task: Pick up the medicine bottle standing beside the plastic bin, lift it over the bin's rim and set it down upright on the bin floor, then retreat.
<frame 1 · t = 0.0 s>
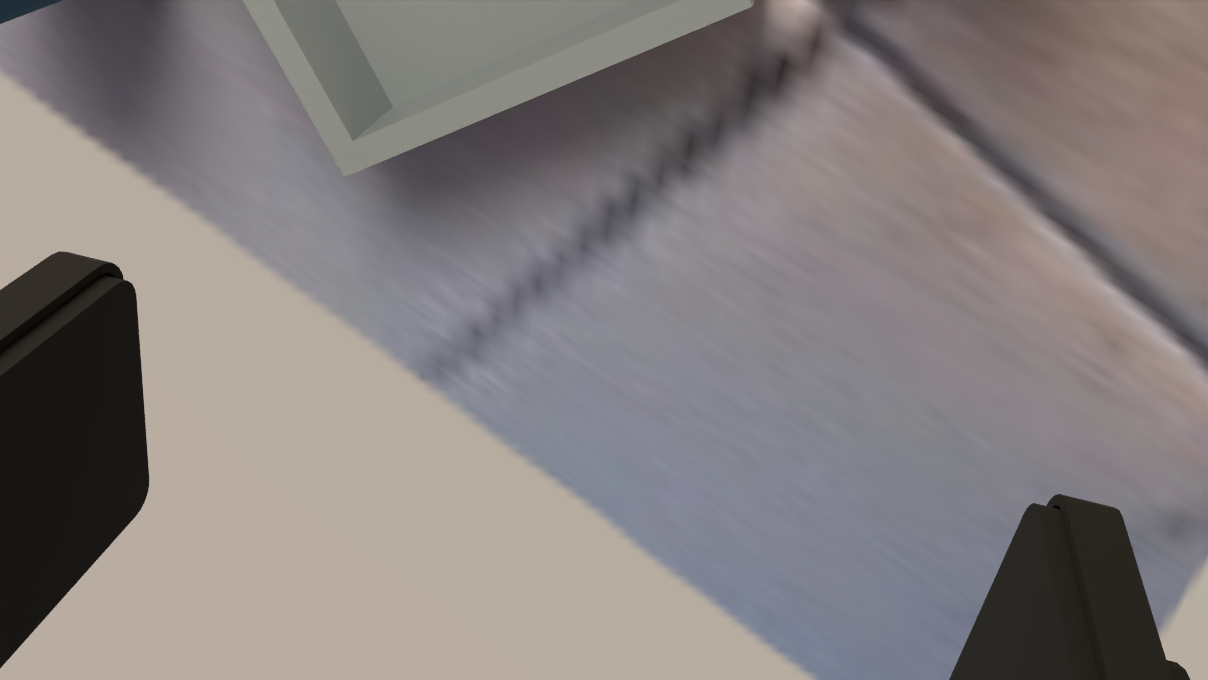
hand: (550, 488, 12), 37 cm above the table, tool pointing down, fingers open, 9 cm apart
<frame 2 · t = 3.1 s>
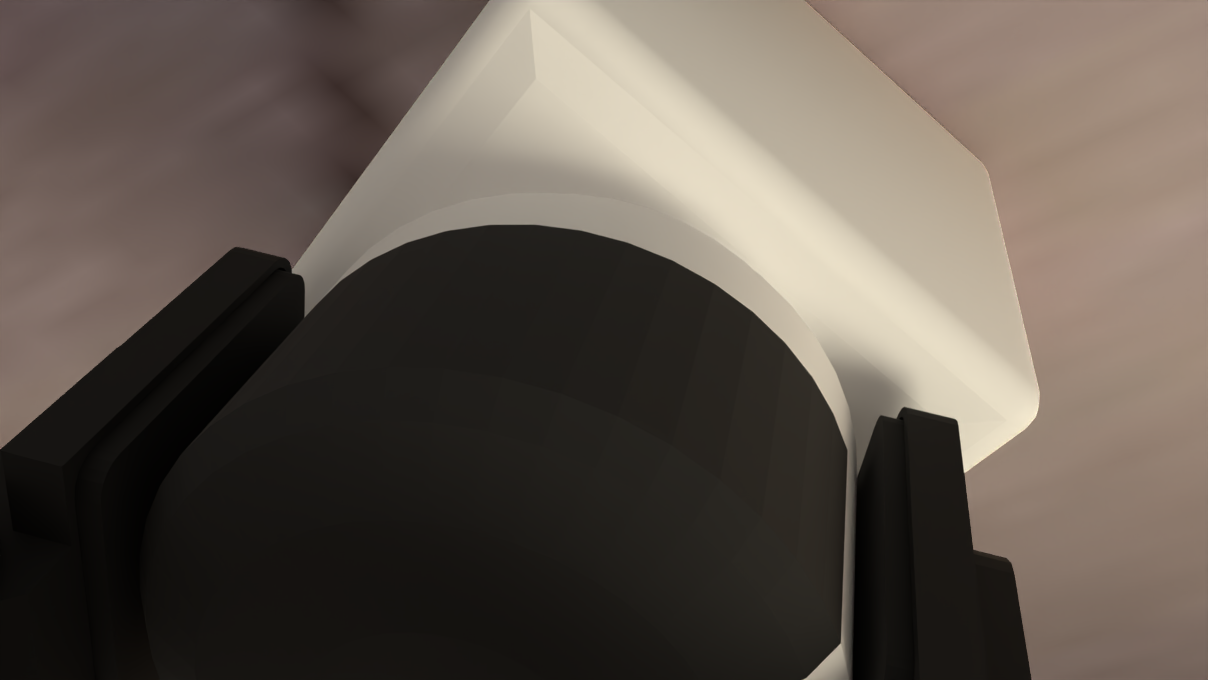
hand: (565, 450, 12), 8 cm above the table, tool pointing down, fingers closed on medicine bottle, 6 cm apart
medicine bottle: (680, 174, 19), on the table, touching gripper
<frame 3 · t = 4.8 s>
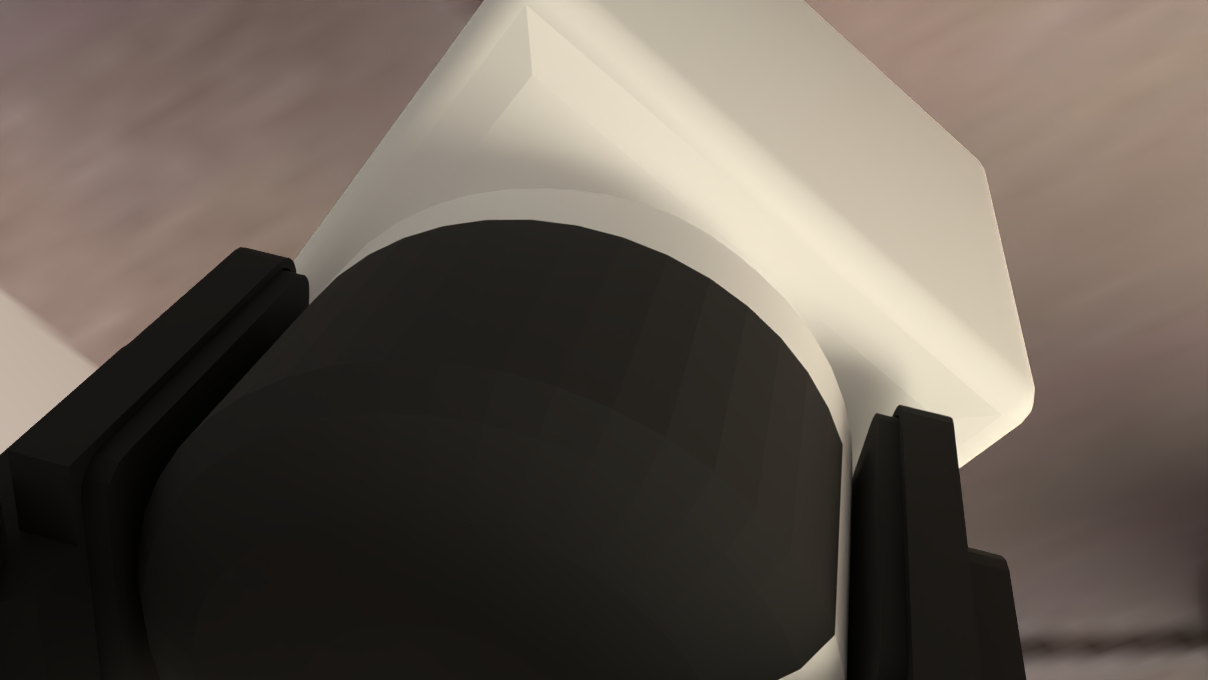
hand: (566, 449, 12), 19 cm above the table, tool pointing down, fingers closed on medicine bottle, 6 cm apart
medicine bottle: (677, 172, 19), point 11 cm above the table, touching gripper
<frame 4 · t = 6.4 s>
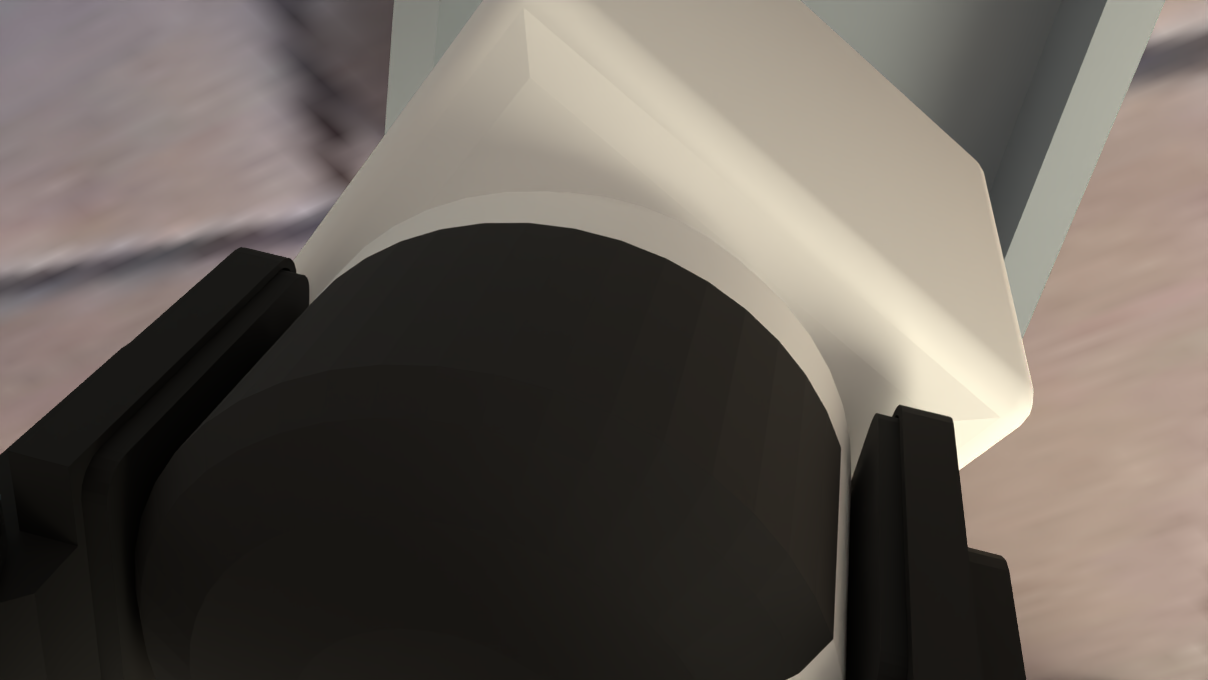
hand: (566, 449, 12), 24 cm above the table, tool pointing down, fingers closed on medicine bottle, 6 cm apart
medicine bottle: (676, 174, 19), point 16 cm above the table, touching gripper
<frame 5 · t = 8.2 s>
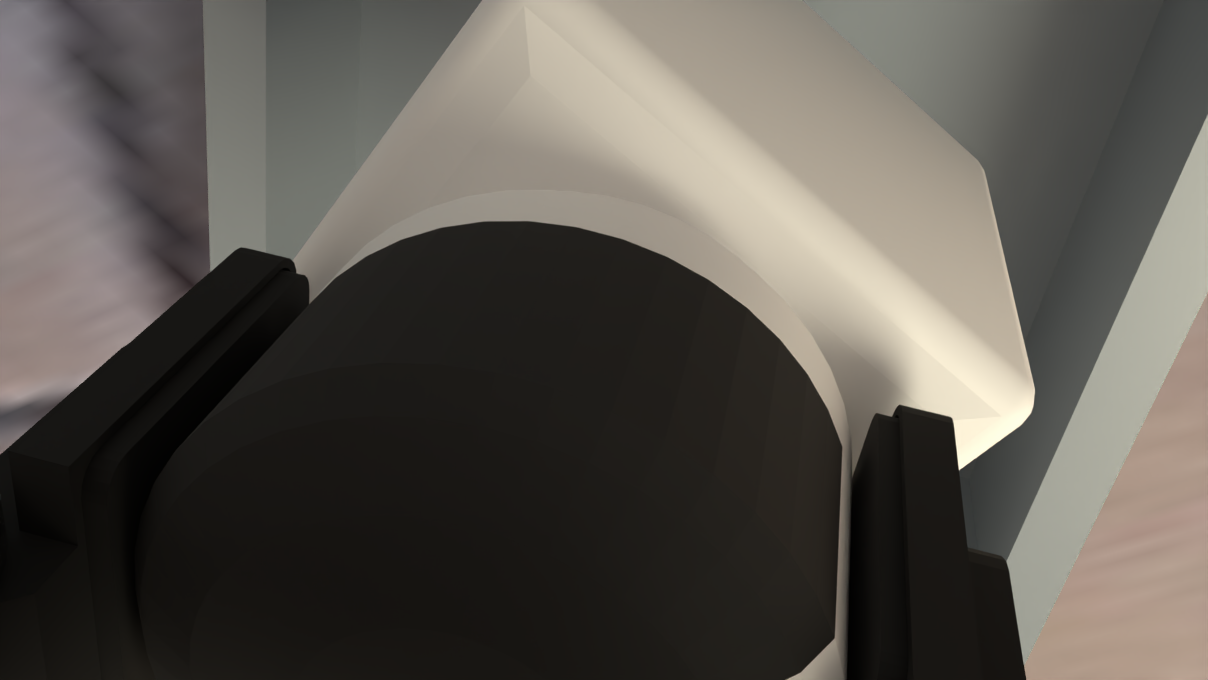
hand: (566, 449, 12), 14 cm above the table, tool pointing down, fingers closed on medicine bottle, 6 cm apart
bin: (720, 80, 25), on the table
medicine bottle: (676, 173, 19), point 6 cm above the table, touching gripper
when the fingers open (10 cm above the table, at t = 9.5 s): medicine bottle drops 1 cm, resting on bin.
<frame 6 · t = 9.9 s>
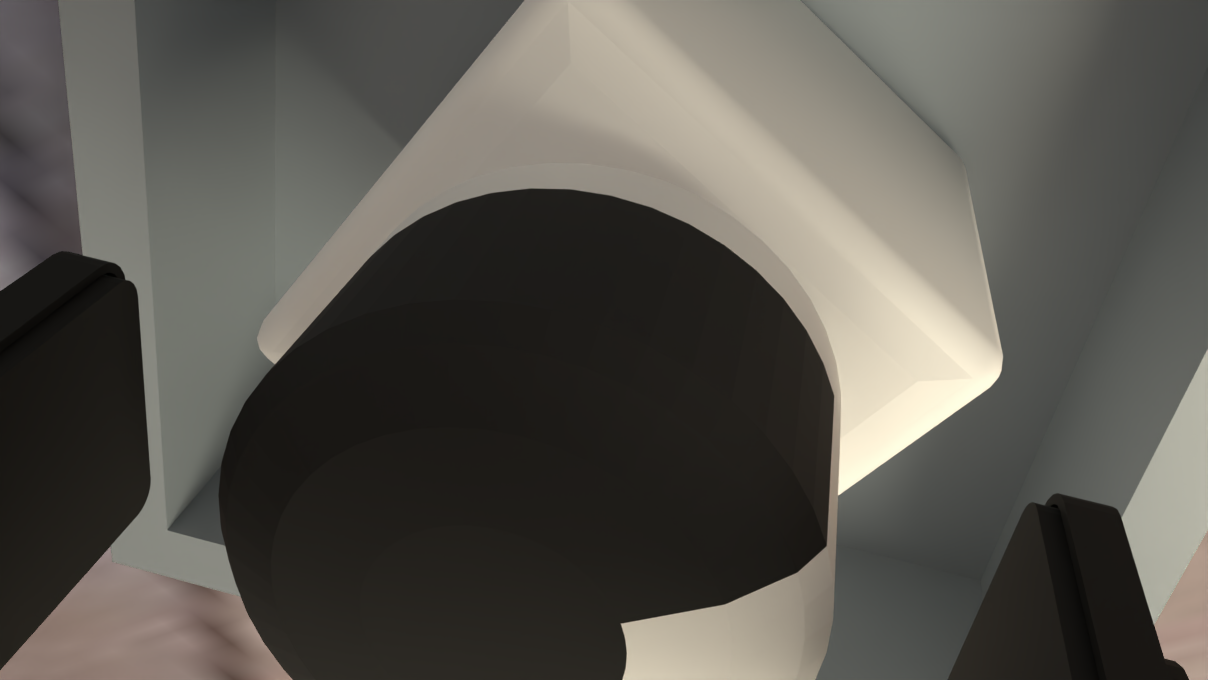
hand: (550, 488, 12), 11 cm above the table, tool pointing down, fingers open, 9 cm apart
bin: (693, 132, 21), on the table
medicine bottle: (681, 160, 21), point 1 cm above the table, touching bin
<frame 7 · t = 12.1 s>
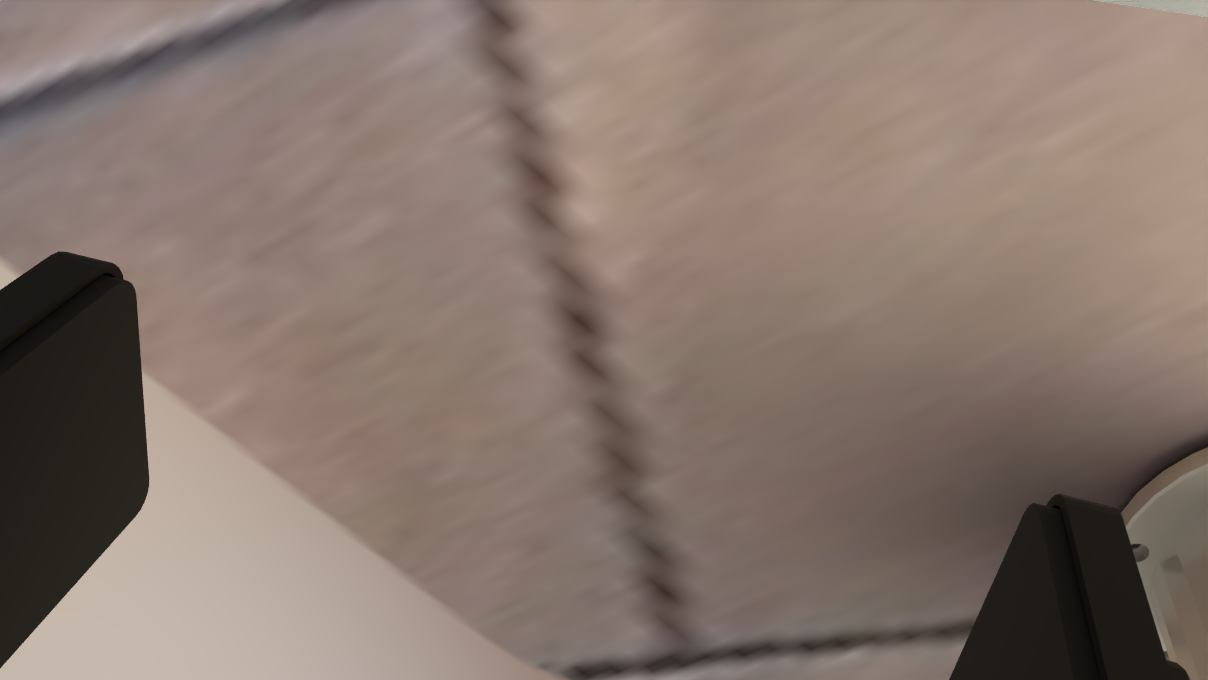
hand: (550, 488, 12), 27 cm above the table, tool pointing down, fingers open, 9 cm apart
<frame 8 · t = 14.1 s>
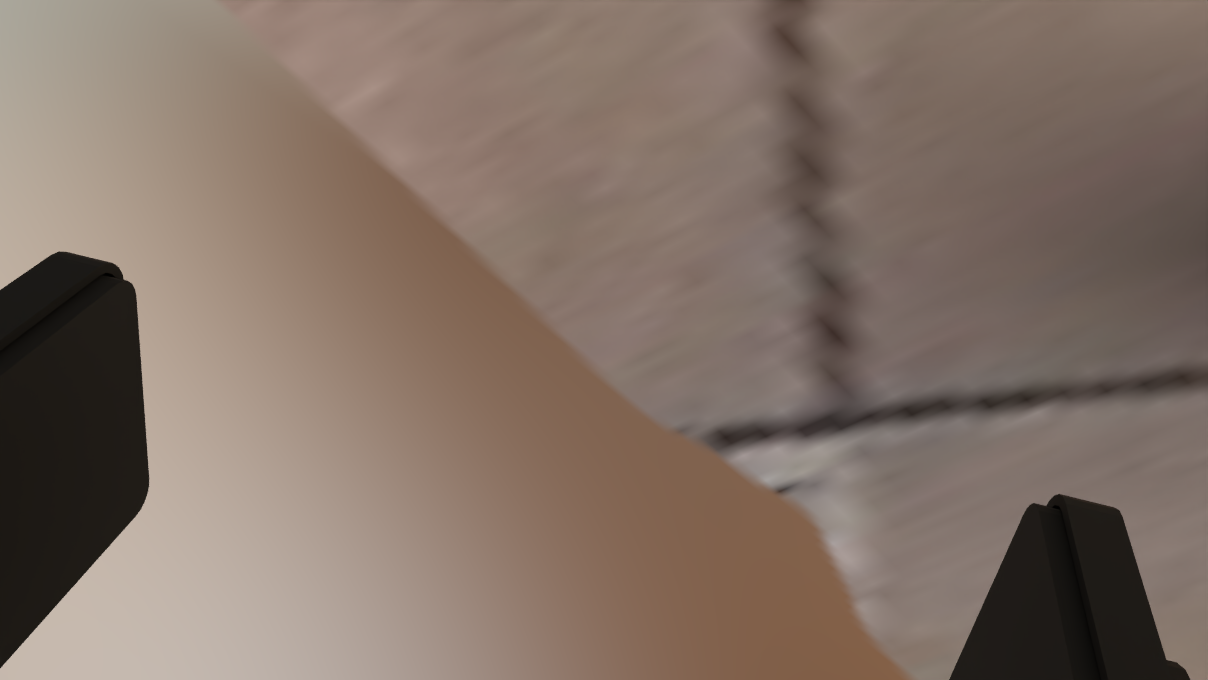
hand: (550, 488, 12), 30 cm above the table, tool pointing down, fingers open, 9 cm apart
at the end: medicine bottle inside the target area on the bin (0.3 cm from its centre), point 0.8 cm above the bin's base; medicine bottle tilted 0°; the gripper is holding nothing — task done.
